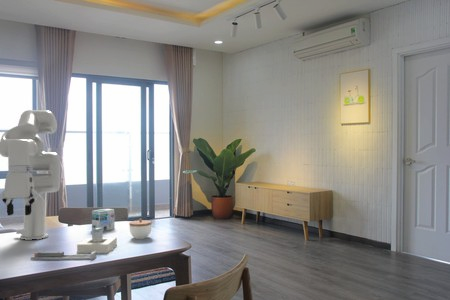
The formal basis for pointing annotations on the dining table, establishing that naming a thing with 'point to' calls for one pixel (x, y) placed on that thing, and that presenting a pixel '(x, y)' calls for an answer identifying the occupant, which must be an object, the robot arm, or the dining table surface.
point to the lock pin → (49, 254)
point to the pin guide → (69, 257)
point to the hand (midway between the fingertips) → (19, 214)
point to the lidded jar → (140, 228)
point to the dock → (96, 246)
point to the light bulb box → (103, 219)
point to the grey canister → (97, 235)
